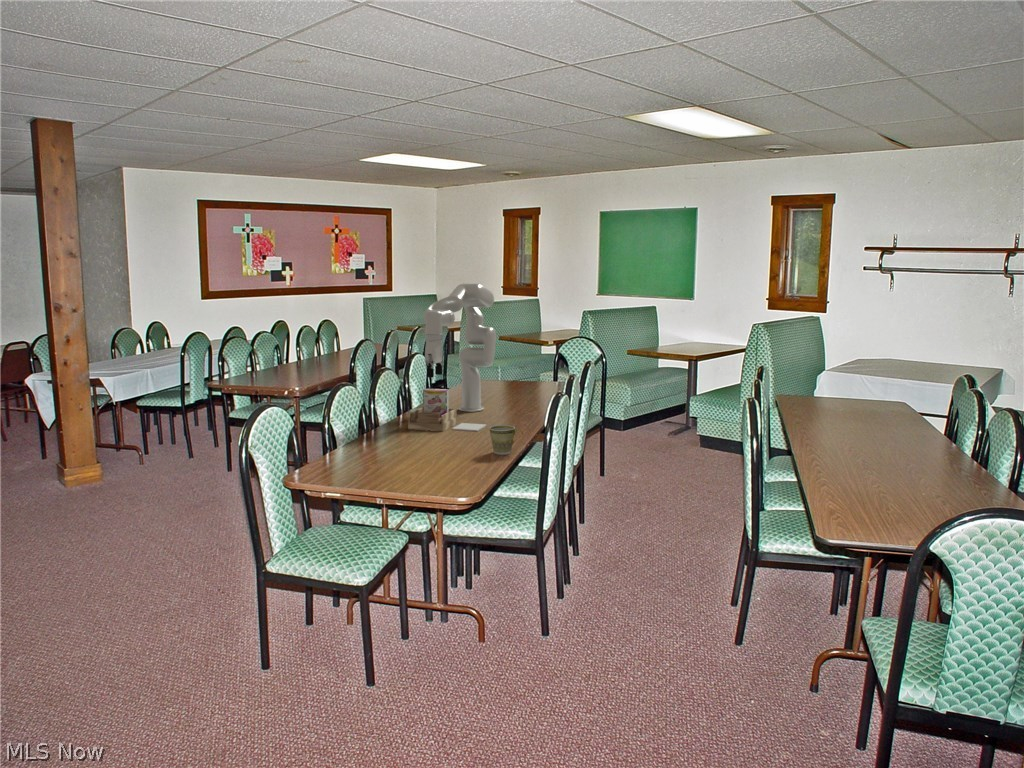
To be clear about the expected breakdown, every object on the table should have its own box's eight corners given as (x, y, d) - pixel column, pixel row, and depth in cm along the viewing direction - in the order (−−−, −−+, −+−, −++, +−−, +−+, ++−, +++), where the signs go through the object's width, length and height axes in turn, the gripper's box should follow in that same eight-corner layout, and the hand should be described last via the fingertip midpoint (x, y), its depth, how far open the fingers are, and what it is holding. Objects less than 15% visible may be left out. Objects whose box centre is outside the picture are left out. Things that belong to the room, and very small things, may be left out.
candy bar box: (423, 425, 344) (422, 390, 341) (425, 423, 348) (425, 388, 346) (447, 426, 342) (446, 390, 340) (449, 423, 347) (448, 388, 345)
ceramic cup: (487, 455, 289) (487, 430, 287) (491, 449, 299) (491, 424, 297) (521, 456, 287) (521, 431, 285) (524, 450, 297) (524, 425, 295)
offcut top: (420, 417, 340) (419, 412, 339) (439, 417, 339) (439, 412, 339) (418, 419, 335) (418, 414, 334) (438, 419, 334) (438, 414, 334)
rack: (423, 421, 352) (423, 407, 351) (457, 423, 347) (456, 408, 346) (408, 429, 336) (407, 413, 335) (442, 431, 331) (442, 415, 330)
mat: (461, 424, 346) (461, 422, 346) (486, 425, 342) (486, 424, 342) (452, 429, 335) (452, 428, 334) (477, 431, 331) (477, 430, 331)
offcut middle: (421, 422, 341) (421, 416, 341) (444, 423, 339) (443, 417, 338) (416, 424, 336) (416, 419, 336) (439, 425, 333) (439, 420, 333)
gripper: (434, 336, 348) (434, 373, 350) (418, 339, 332) (419, 377, 334) (449, 337, 346) (449, 373, 348) (434, 339, 329) (434, 378, 332)
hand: (434, 375), depth 341 cm, fingers open, 9 cm apart
